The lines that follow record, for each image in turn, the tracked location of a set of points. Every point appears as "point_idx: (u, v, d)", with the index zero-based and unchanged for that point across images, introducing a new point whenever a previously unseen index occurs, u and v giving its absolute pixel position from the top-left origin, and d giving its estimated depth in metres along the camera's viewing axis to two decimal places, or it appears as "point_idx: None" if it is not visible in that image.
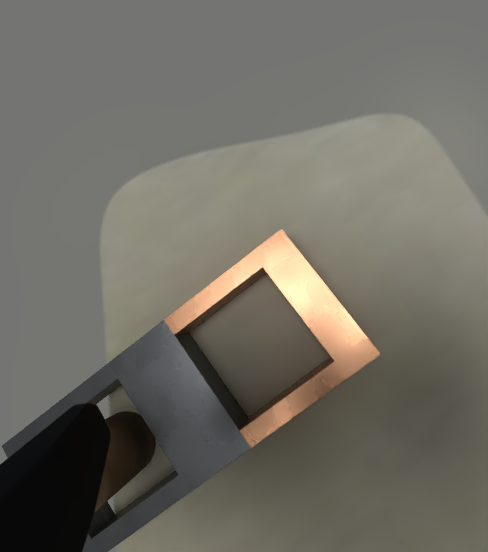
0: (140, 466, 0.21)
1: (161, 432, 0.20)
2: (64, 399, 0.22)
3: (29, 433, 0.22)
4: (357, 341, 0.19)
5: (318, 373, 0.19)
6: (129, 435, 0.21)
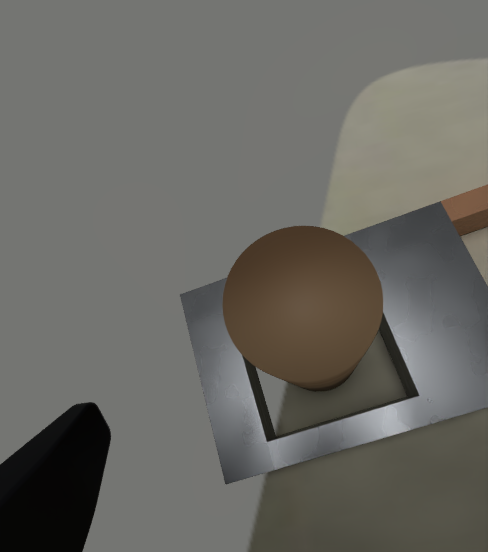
0: None
1: (405, 334, 0.15)
2: None
3: (219, 289, 0.17)
4: None
5: None
6: None
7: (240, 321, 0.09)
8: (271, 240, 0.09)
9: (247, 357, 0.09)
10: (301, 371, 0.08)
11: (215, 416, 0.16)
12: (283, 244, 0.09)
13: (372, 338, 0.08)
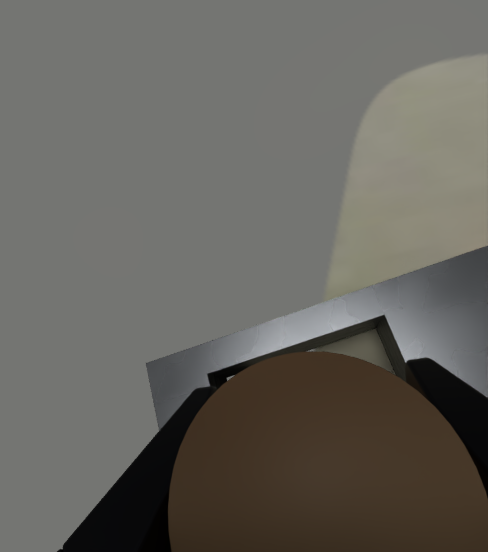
0: None
1: None
2: (275, 321, 0.13)
3: (198, 358, 0.13)
4: None
5: None
6: None
7: (201, 550, 0.05)
8: (262, 378, 0.05)
9: None
10: None
11: None
12: (284, 388, 0.05)
13: None
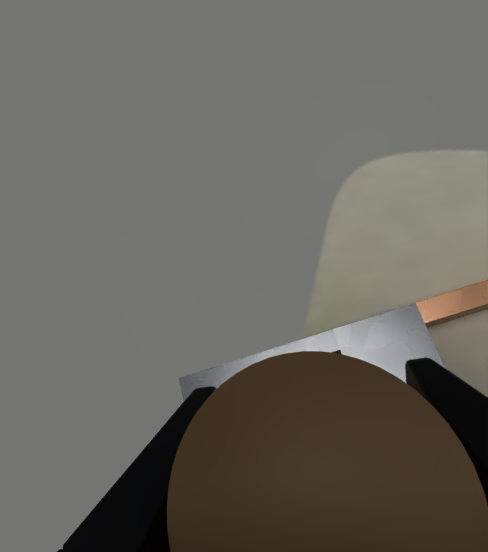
0: None
1: None
2: (268, 352, 0.19)
3: (215, 376, 0.19)
4: None
5: None
6: None
7: (199, 549, 0.05)
8: (260, 377, 0.05)
9: None
10: None
11: None
12: (282, 387, 0.05)
13: None
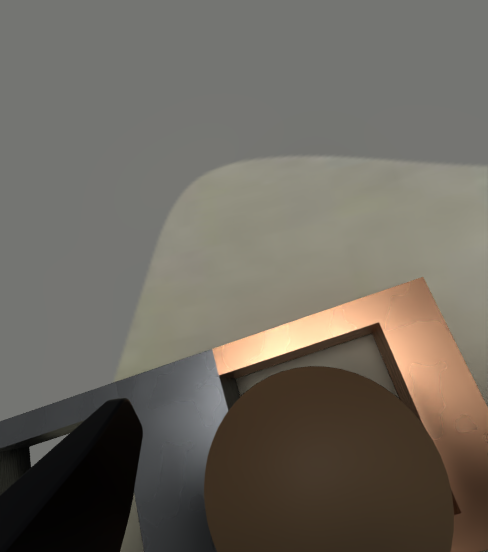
0: None
1: (150, 515, 0.13)
2: (40, 410, 0.15)
3: None
4: None
5: None
6: None
7: (230, 520, 0.06)
8: (276, 387, 0.06)
9: None
10: None
11: None
12: (294, 395, 0.06)
13: None
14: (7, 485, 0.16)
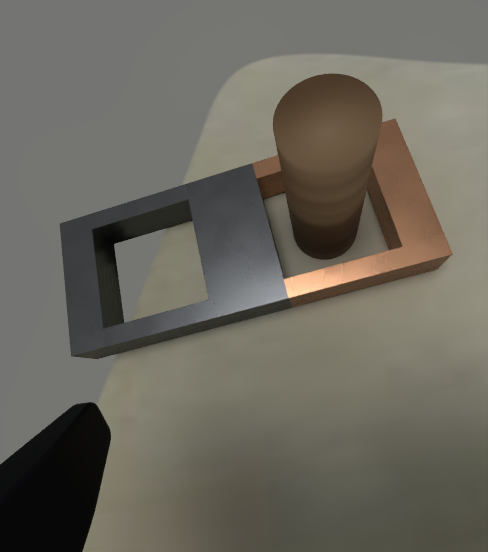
0: (350, 239, 0.20)
1: (208, 257, 0.21)
2: (132, 202, 0.23)
3: (88, 221, 0.23)
4: (432, 235, 0.19)
5: (381, 253, 0.19)
6: None
7: (285, 133, 0.13)
8: (308, 83, 0.13)
9: (289, 154, 0.13)
10: (325, 160, 0.13)
11: (71, 310, 0.21)
12: (316, 85, 0.13)
13: (373, 139, 0.12)
14: (104, 256, 0.23)
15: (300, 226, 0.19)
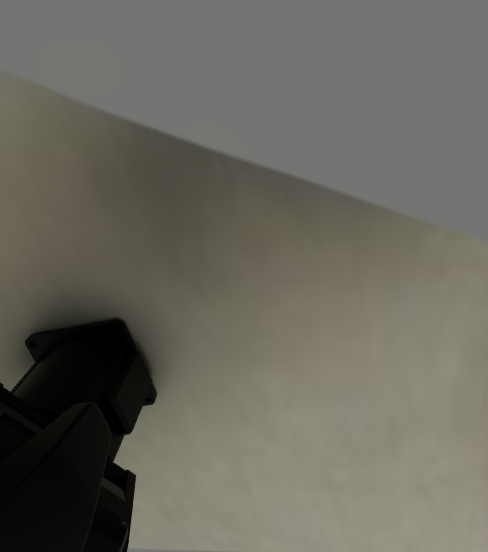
0: None
1: None
2: None
3: None
4: None
5: None
6: None
7: None
8: None
9: None
10: None
11: None
12: None
13: None
14: None
15: None
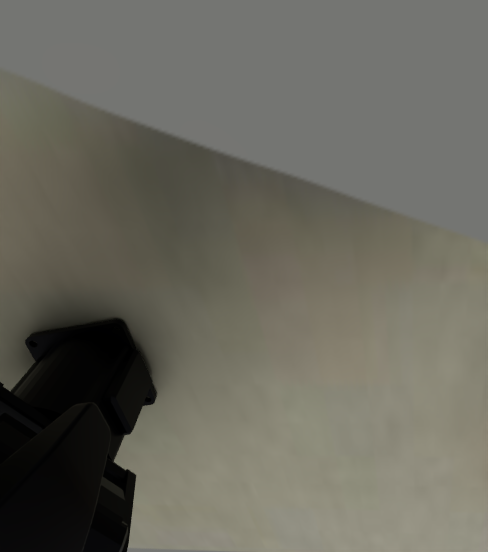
0: None
1: None
2: None
3: None
4: None
5: None
6: None
7: None
8: None
9: None
10: None
11: None
12: None
13: None
14: None
15: None
